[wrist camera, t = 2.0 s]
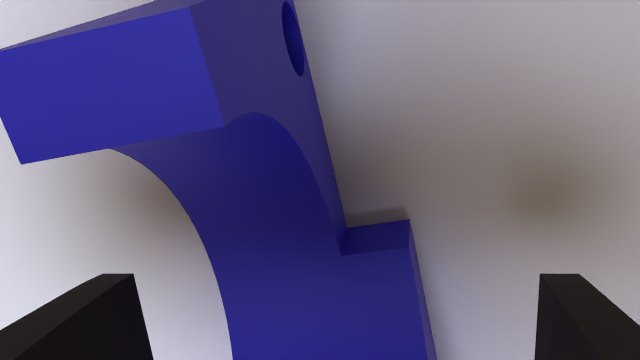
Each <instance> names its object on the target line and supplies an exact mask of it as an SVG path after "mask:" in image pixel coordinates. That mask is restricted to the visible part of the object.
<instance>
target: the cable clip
mask: <svg viewBox="0 0 640 360" xmlns="http://www.w3.org/2000/svg"><path fill="white" fill-rule="evenodd" d="M0 117H1V120H2V122H3V124H4V127H5V129H6V131H7V134H8V136H9V138H10V140H11V143H12V145H13V147H14V150H15V152H16V154H17V157H18V159H19V161H20V164H26V163H32V162H37V161H43V160H48V159H53V158H59V157H64V156H70V155H75V154H80V153H86V152H91V151H97V150H102V149H107V148H108V149H112V150H115V151H118V152H120V153H123V154H125V155H128V156H130V157H131V158H133V159H135V160H136V161H138V162H140V163H141V164H143V165H144V166H145V167H147V168H148V169H149V170H150V171H152V172H153V173H154V174H155V175H157V176H158V177H159V178H160V180H161V181H162V182H163V183H164V184H165V185H166V186H167V187H168V188H169V189H170V190H171V192H172V193H173V194H174V195H175V196H176V198H177V199H178V200H179V202H180V203H181V205H182V206H183V208H184V209H185V211H186V212H187V214H188V215H189V217H190V219H191V221H192V223H193V224H194V226H195V228H196V230H197V232H198V234H199V236H200V238H201V240H202V242H203V244H204V247H205V249H206V252H207V254H208V257H209V259H210V262H211V264H212V267H213V270H214V273H215V276H216V279H217V282H218V286H219V290H220V293H221V297H222V300H223V305H224V309H225V314H226V318H227V323H228V329H229V335H230V340H231V348H232V355H233V360H437V357H436V352H435V347H434V342H433V337H432V332H431V327H430V321H429V316H428V311H427V306H426V301H425V296H424V291H423V286H422V280H421V275H420V270H419V265H418V260H417V255H416V250H415V244H414V239H413V234H412V229H411V224H410V219H408V220H401V221H394V222H387V223H380V224H373V225H366V226H359V227H351V228H347V225H346V221H345V217H344V213H343V208H342V204H341V200H340V196H339V192H338V187H337V183H336V179H335V175H334V170H333V166H332V162H331V158H330V154H329V149H328V145H327V141H326V137H325V132H324V128H323V124H322V120H321V116H320V111H319V107H318V103H317V99H316V94H315V90H314V86H313V82H312V78H311V73H310V69H309V65H308V61H307V57H306V52H305V48H304V44H303V40H302V35H301V31H300V27H299V23H298V19H297V14H296V10H295V6H294V2H293V0H158V1H154V2H151V3H147V4H144V5H141V6H138V7H134V8H131V9H128V10H125V11H122V12H118V13H115V14H112V15H109V16H105V17H102V18H99V19H96V20H93V21H89V22H86V23H83V24H80V25H76V26H73V27H70V28H67V29H64V30H60V31H57V32H54V33H51V34H47V35H44V36H41V37H38V38H35V39H31V40H28V41H25V42H22V43H18V44H15V45H12V46H9V47H5V48H2V49H0Z"/></svg>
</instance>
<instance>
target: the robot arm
mask: <svg viewBox="0 0 640 360" xmlns="http://www.w3.org/2000/svg"><path fill="white" fill-rule="evenodd" d="M0 360H153V355H152V351H151V347H150V343H149V338H148V334H147V330H146V325H145V321H144V317H143V313H142V308H141V304H140V300H139V296H138V291H137V287H136V283H135V278H134V274H101V275H99V276H97V277H94V278H92V279H90V280H88V281H86V282H84V283H82V284H80V285H79V286H77V287H75V288H73V289H71V290H69V291H68V292H66V293H64V294H62V295H61V296H59V297H57V298H55V299H54V300H52V301H50V302H48V303H47V304H45V305H43V306H41V307H40V308H38V309H36V310H35V311H33V312H31V313H29V314H28V315H26V316H24V317H22V318H21V319H19V320H17V321H15V322H14V323H12V324H10V325H9V326H7V327H5V328H3V329H2V330H0ZM535 360H640V326H639V325H638V324H637V323H636V322H635V321H633V320H632V319H631V318H630V317H629V316H628V315H626V314H625V313H624V312H623V311H622V310H621V309H619V308H618V307H617V306H616V305H615V304H614V303H612V302H611V301H610V300H609V299H608V298H607V297H606V296H604V295H603V294H602V293H601V292H600V291H599V290H597V289H596V288H595V287H594V286H593V285H592V284H591V283H589V282H588V281H587V280H586V279H585V278H583V277H582V276H581V275H580V274H540V282H539V298H538V314H537V330H536V346H535Z"/></svg>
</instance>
